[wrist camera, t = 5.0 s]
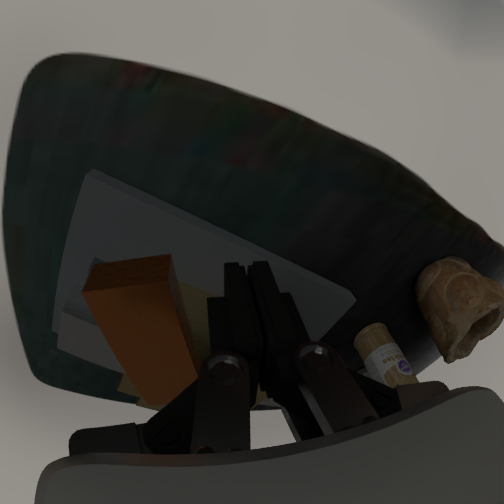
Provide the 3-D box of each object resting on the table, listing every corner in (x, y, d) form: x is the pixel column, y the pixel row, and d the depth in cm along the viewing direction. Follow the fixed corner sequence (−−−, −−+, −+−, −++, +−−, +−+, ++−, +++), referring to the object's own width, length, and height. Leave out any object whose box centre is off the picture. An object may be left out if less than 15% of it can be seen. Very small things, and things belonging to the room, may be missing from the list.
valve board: (349, 290, 26) (356, 300, 24) (258, 383, 32) (260, 393, 30) (93, 168, 16) (85, 174, 15) (56, 319, 22) (51, 330, 21)
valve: (311, 328, 25) (347, 413, 17) (269, 370, 28) (290, 449, 20) (92, 243, 17) (40, 346, 9) (75, 308, 20) (43, 403, 12)
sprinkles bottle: (389, 317, 30) (447, 407, 18) (378, 342, 32) (426, 427, 21) (356, 325, 29) (411, 426, 18) (347, 351, 31) (392, 444, 20)
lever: (230, 433, 16) (234, 458, 14) (183, 437, 15) (185, 461, 14) (180, 252, 8) (177, 293, 7) (86, 265, 8) (67, 304, 6)
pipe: (447, 314, 33) (484, 361, 25) (382, 300, 28) (430, 370, 19) (482, 264, 29) (526, 308, 21) (428, 230, 24) (495, 290, 15)
